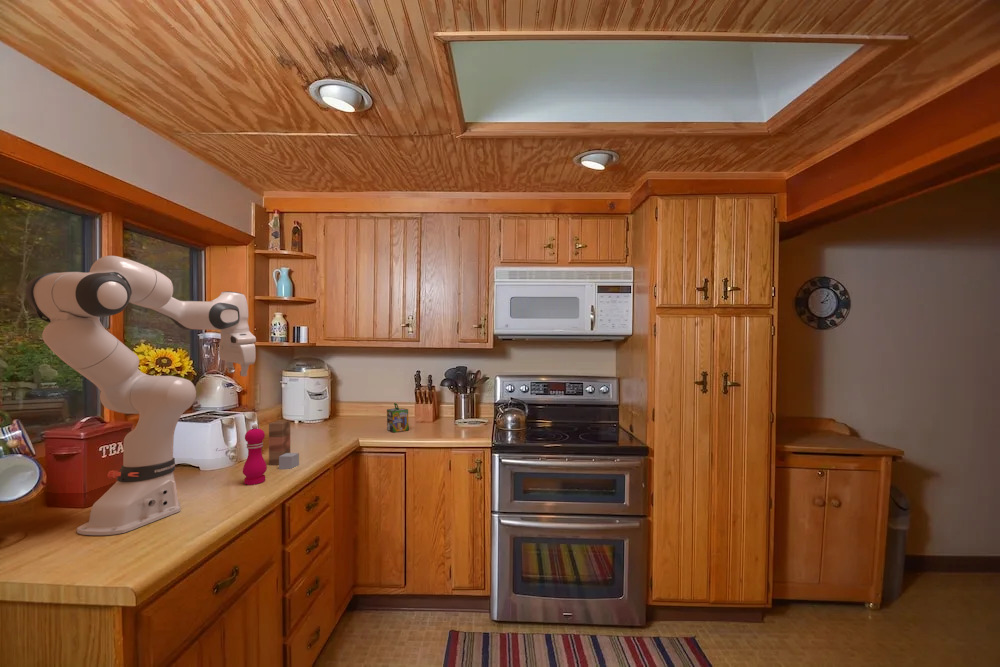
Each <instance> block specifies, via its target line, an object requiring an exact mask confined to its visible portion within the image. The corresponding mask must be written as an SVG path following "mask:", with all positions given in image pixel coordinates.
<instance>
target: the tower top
mask: <svg viewBox="0 0 1000 667" xmlns="http://www.w3.org/2000/svg"><path fill="white" fill-rule="evenodd" d="M287 435H290V436H291V420H276V421H273V422H269V423H268V438H269V437H285V436H287Z"/></svg>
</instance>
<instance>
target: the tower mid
mask: <svg viewBox="0 0 1000 667" xmlns="http://www.w3.org/2000/svg"><path fill="white" fill-rule="evenodd" d="M289 448H290V449H291V434H290V435H287V436H285V437H269V436H268V452H269V451H280V452H282V451H285V450H287V449H289Z"/></svg>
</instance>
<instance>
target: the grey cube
mask: <svg viewBox="0 0 1000 667" xmlns="http://www.w3.org/2000/svg"><path fill="white" fill-rule="evenodd" d="M298 465H299V466H300V452H290V453H285V454H283V455H281V456H279V466H278V470H286V469H292V468H294V467H296V466H297V467H299V466H298ZM297 467H296V468H297ZM294 469H295V468H294ZM292 470H293V469H292Z"/></svg>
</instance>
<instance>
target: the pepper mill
mask: <svg viewBox="0 0 1000 667" xmlns="http://www.w3.org/2000/svg"><path fill="white" fill-rule="evenodd" d="M258 427H259V426H258V424H256V423H254V424H253V425H251V429H249V430H248V431H246V432H245V435H244V440H245V442H247V443H246V449H247V457H246V460H245V463H244V465H243V467H242V474H243V475H244V476H245V477H244V479H243V480H244V485H246V484H247V485H246V486H253V485H254V484H255V485H260V484H262V483H264V482H265V480H266V475H265V473H266V472H267V468H268V467H267V463H266V460H265V459H264V456H263V454H262V449H263V448H262V447H263V446H264V442H263V440H264V439H265V437H266V435H265V431H264V430H263V429H261V428H258ZM259 483H260V484H259ZM255 485H254V486H255Z"/></svg>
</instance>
